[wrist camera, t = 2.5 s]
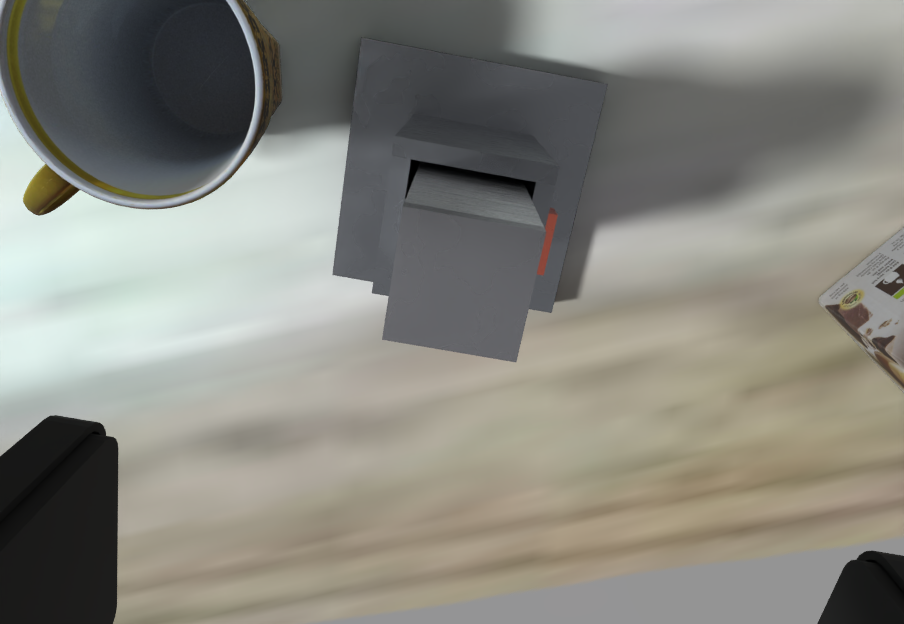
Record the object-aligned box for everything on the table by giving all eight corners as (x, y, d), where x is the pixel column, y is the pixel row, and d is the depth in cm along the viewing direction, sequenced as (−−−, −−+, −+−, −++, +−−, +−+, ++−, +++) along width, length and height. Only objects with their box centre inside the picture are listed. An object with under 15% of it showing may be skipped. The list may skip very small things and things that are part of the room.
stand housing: (365, 38, 34) (319, 30, 23) (601, 82, 34) (664, 95, 24) (337, 266, 38) (287, 350, 27) (548, 303, 39) (580, 399, 28)
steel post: (430, 138, 34) (402, 206, 19) (509, 153, 34) (546, 231, 19) (417, 217, 35) (382, 339, 20) (494, 231, 35) (516, 362, 20)
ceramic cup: (204, -90, 32) (98, -149, 23) (358, 74, 35) (319, 81, 25) (46, 108, 35) (-105, 128, 26) (196, 245, 38) (108, 308, 28)
